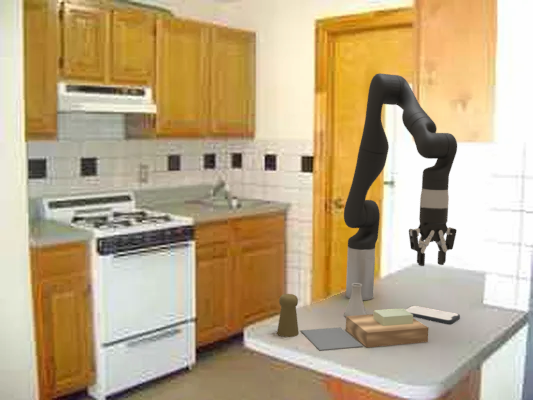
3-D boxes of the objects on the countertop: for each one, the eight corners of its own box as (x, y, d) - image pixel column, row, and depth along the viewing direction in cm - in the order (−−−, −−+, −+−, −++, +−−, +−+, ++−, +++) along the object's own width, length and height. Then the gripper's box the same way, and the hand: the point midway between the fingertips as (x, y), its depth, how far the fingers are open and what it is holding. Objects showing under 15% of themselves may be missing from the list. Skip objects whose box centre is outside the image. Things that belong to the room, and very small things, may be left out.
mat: (300, 331, 166) (300, 330, 166) (340, 328, 170) (340, 327, 170) (319, 350, 152) (319, 349, 152) (362, 347, 155) (362, 345, 155)
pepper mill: (291, 338, 161) (292, 299, 159) (273, 334, 164) (273, 295, 163) (302, 332, 166) (303, 294, 165) (283, 328, 169) (284, 290, 168)
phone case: (400, 316, 184) (450, 326, 174) (400, 311, 184) (450, 321, 174) (412, 309, 191) (461, 319, 181) (412, 304, 191) (461, 314, 181)
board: (345, 329, 169) (346, 316, 168) (402, 325, 173) (403, 311, 173) (366, 347, 155) (367, 332, 155) (427, 341, 160) (428, 327, 160)
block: (373, 318, 166) (373, 310, 166) (402, 316, 168) (402, 308, 168) (383, 325, 160) (383, 317, 160) (412, 323, 163) (413, 314, 162)
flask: (369, 314, 183) (370, 282, 182) (365, 321, 177) (366, 288, 175) (346, 311, 186) (347, 280, 185) (341, 318, 179) (342, 286, 178)
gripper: (449, 203, 169) (445, 261, 171) (404, 204, 165) (401, 263, 167) (464, 206, 162) (461, 267, 164) (417, 207, 158) (414, 269, 160)
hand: (430, 264), depth 165 cm, fingers open, 5 cm apart
